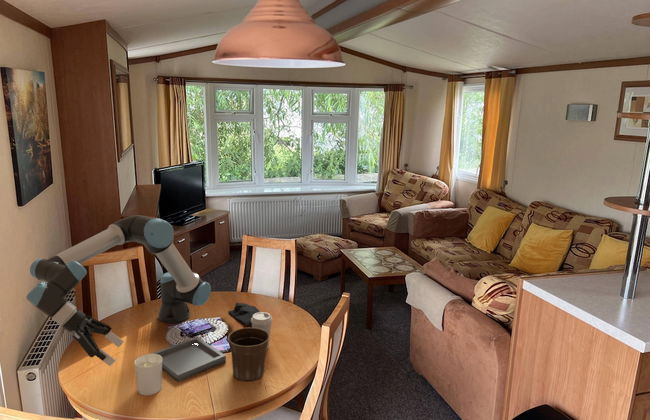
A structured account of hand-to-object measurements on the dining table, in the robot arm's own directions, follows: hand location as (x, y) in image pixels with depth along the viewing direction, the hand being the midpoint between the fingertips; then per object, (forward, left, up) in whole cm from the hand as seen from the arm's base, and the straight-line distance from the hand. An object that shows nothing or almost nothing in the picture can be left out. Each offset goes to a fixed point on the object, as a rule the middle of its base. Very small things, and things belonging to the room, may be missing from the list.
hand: (117, 353), depth 175 cm
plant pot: (+22, +43, -16) cm, 51 cm away
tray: (-2, +30, -15) cm, 34 cm away
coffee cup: (+9, +60, -16) cm, 62 cm away
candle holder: (+6, +9, -16) cm, 19 cm away
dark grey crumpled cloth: (-19, +74, -16) cm, 78 cm away
